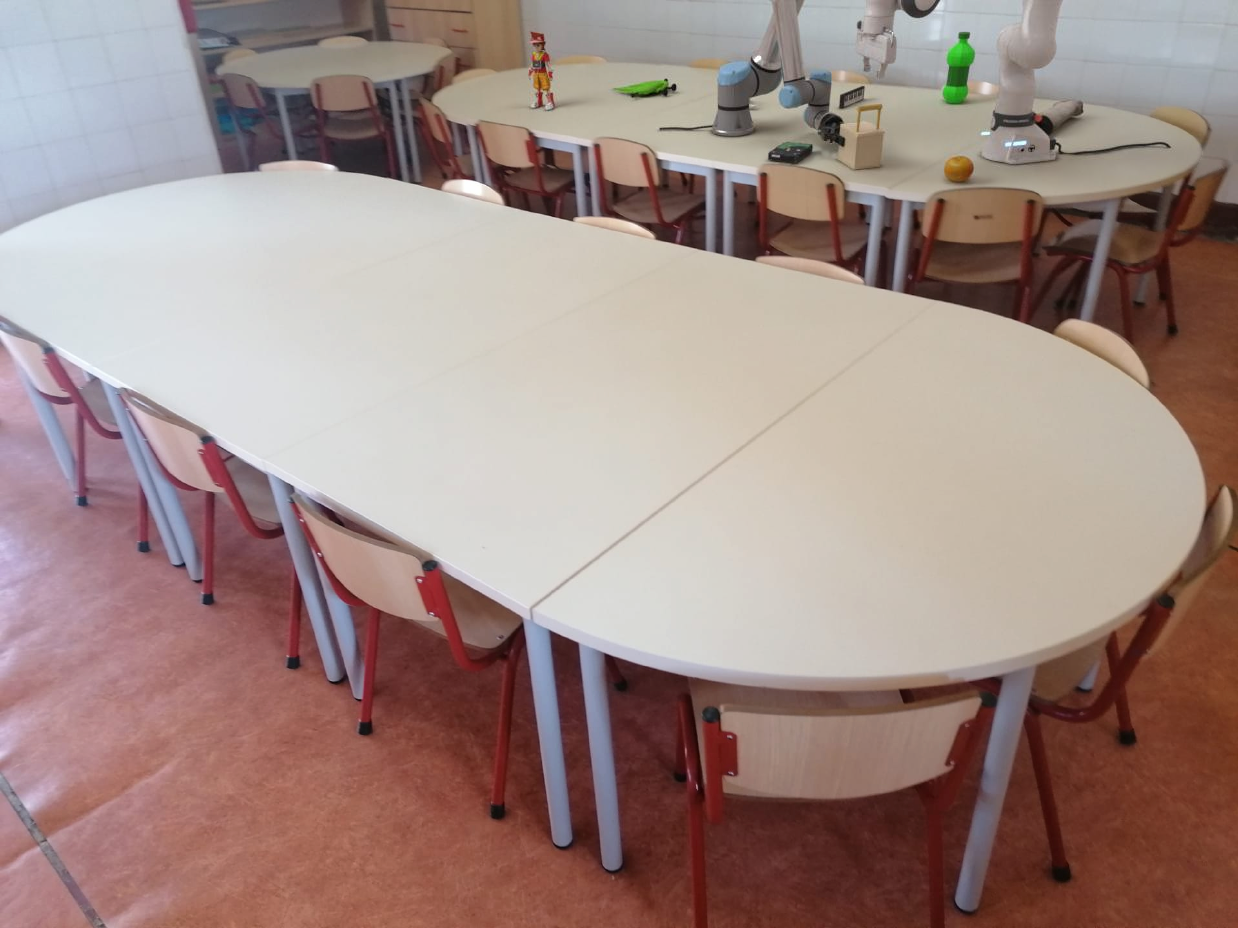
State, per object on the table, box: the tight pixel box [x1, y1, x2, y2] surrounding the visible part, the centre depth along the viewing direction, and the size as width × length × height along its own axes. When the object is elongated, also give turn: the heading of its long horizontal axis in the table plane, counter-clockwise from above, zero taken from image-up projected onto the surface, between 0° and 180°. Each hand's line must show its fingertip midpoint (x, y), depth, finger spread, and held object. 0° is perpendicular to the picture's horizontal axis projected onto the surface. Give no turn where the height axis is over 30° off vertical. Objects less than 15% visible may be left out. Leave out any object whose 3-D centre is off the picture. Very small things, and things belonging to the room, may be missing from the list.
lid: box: [840, 103, 886, 137], centre depth 289 cm, size 13×9×9 cm
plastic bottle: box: [942, 31, 976, 104], centre depth 348 cm, size 10×10×25 cm
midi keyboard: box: [838, 85, 866, 109], centre depth 359 cm, size 18×1×5 cm, turn 138°
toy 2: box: [612, 78, 677, 99], centre depth 396 cm, size 28×5×30 cm
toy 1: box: [527, 31, 556, 111], centre depth 374 cm, size 12×9×30 cm
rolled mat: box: [1035, 99, 1084, 136], centre depth 319 cm, size 30×9×10 cm
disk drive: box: [767, 141, 814, 164], centre depth 306 cm, size 10×3×15 cm
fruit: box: [943, 155, 975, 183], centre depth 275 cm, size 8×8×8 cm
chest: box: [837, 127, 885, 171], centre depth 294 cm, size 13×9×10 cm
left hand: (857, 140), depth 295 cm, fingers open, 9 cm apart
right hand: (873, 74), depth 278 cm, fingers open, 8 cm apart
